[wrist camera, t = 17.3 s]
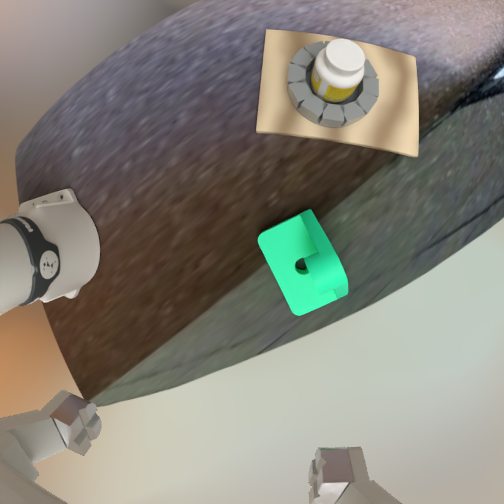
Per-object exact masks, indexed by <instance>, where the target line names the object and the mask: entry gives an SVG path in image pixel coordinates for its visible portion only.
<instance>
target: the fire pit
mask: <svg viewBox="0 0 504 504" xmlns="http://www.w3.org/2000/svg"><path fill="white" fill-rule="evenodd" d="M330 42H331V41H325V44H324V43H323V41H320V42H316V43H313V44H310V45H306V46H304V49H303V48H301V49H300V50H299V51H298V52H297V54H296V55H295V56H294V57H293V58H292V59H291V61H290V64H289V72H288V87H287V90H288V94H289V97H290V99H291V102H292V104H293V105H294V107H295V108H296V109H297V111H298V112H299V113H300V114H301V115H302V116H303V117H305V118H306V119H307V120H309V121H311V122H313V123H315V124H317V125H320V126H323V127H328V128H341V127H346V126H349V125H351V124H354V123H355V122H357V121H359V120H361V119H362V118H363V117H364V116H365V115H367V114H368V113H369V111H370V110H371V108H372V107H373V106H374V104H375V103H376V101H377V100H378V99H377V98H378V97H379V79H378V78H376V77H377V76H378V75H377V73H376V72H375V70H374V68H373V67H372V65H371V63H370V62H369V60H368V59H366V60H365V63H364V69H365V70H364V76H363V78H362V80H361V81H360V83H359V84H358V86H357V87H356V89H355V90H354V92H353V93H352V94H351V96H350V97H349V98H348V99H347V100H346V101H345V102H343V103H341V104H338V105H336V104H329V103H325V102H324V101H322V100H321V99H320V98H318V97H317V96H315V95H314V94H313V93H312V91H311V88H310V79H311V75H312V71H313V67H314V63H315V59H316V57H317V55H318V53H319V52H320V51H321V50H322V49H323V48H325V47H327V45H328V44H329V43H330Z"/></svg>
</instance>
